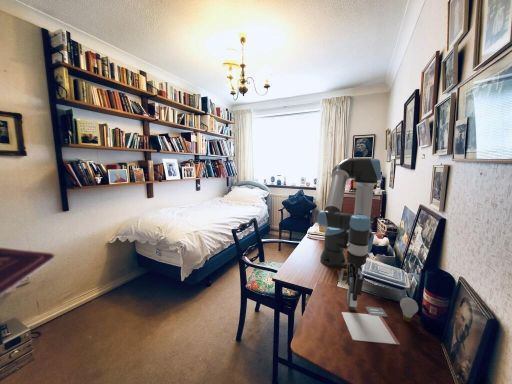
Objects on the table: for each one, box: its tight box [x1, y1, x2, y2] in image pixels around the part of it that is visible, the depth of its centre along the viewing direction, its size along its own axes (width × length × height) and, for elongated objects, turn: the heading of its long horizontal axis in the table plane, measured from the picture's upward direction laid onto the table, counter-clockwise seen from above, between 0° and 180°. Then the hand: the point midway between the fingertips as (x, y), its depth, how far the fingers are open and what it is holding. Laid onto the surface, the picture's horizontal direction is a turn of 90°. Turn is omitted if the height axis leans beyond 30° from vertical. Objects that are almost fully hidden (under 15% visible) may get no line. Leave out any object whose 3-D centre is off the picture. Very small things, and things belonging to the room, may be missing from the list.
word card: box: [365, 306, 389, 318], centre depth 91 cm, size 5×7×1 cm
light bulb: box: [399, 296, 419, 323], centre depth 86 cm, size 6×6×10 cm
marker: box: [347, 277, 356, 311], centre depth 92 cm, size 3×3×14 cm
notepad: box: [341, 311, 401, 345], centre depth 83 cm, size 14×16×1 cm
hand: (351, 303), depth 93 cm, fingers closed on marker, 3 cm apart
